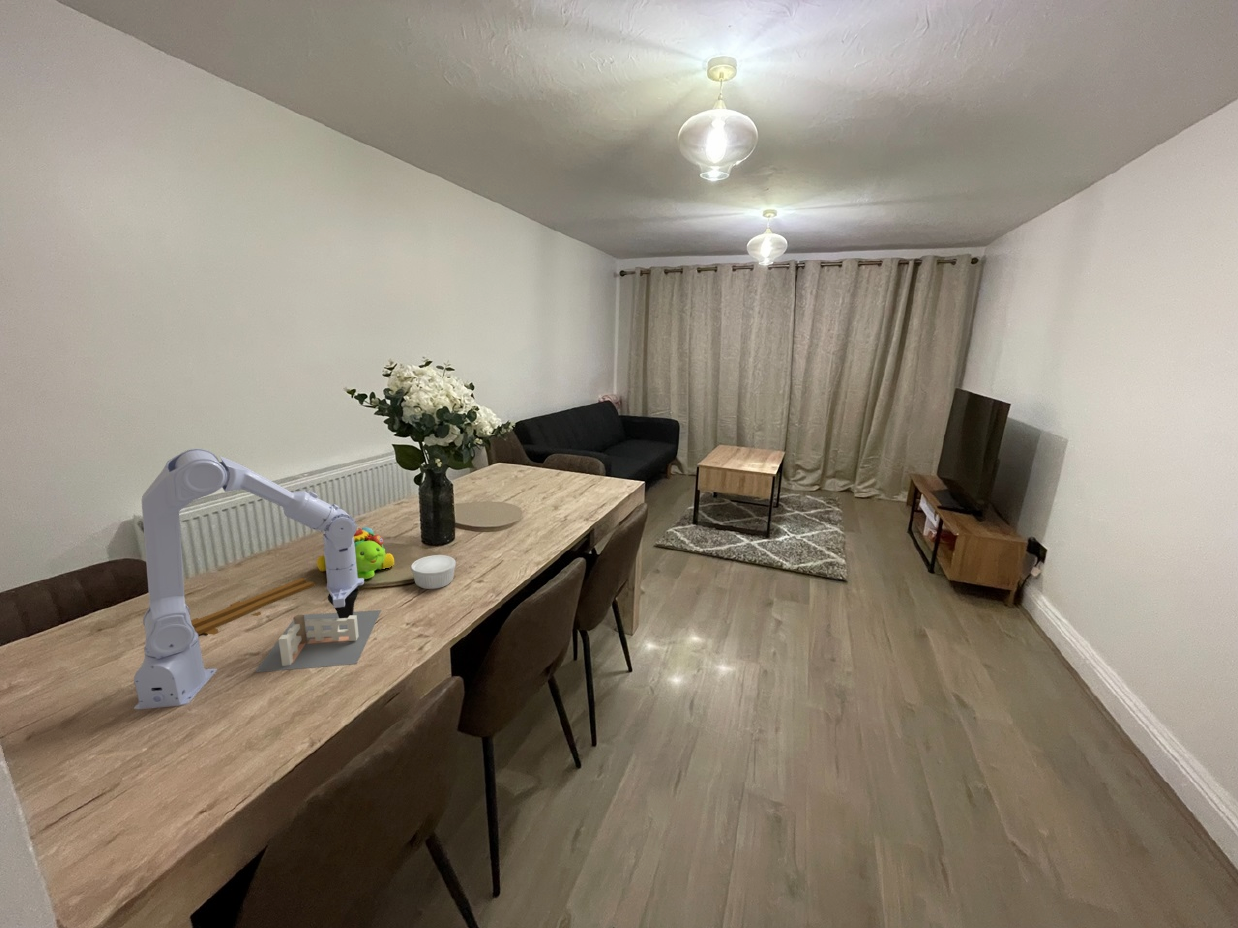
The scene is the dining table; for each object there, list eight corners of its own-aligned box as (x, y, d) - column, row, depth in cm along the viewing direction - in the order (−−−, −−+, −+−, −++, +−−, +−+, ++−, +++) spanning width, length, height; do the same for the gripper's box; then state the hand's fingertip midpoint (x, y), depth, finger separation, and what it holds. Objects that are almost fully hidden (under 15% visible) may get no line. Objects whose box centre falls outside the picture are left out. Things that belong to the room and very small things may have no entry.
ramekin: (413, 573, 136) (412, 556, 134) (456, 569, 139) (455, 552, 138) (410, 594, 125) (409, 575, 124) (456, 589, 129) (455, 570, 128)
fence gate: (306, 642, 103) (304, 620, 102) (310, 638, 104) (307, 616, 103) (356, 640, 105) (354, 618, 103) (358, 636, 106) (356, 615, 105)
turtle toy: (341, 600, 121) (336, 556, 118) (312, 566, 137) (308, 527, 134) (409, 578, 133) (407, 538, 130) (376, 550, 149) (373, 514, 146)
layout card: (356, 665, 98) (356, 663, 98) (254, 674, 94) (254, 671, 94) (381, 611, 117) (381, 609, 117) (297, 616, 113) (296, 614, 113)
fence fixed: (291, 665, 97) (287, 638, 95) (281, 665, 96) (277, 639, 95) (308, 639, 105) (305, 614, 103) (299, 639, 104) (295, 614, 103)
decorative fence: (179, 629, 107) (203, 643, 103) (178, 621, 107) (202, 635, 103) (296, 582, 129) (320, 592, 125) (295, 575, 129) (320, 585, 125)
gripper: (358, 576, 100) (363, 635, 104) (365, 548, 113) (369, 600, 117) (318, 581, 98) (325, 641, 101) (330, 551, 111) (335, 605, 114)
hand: (346, 619), depth 109 cm, fingers closed
